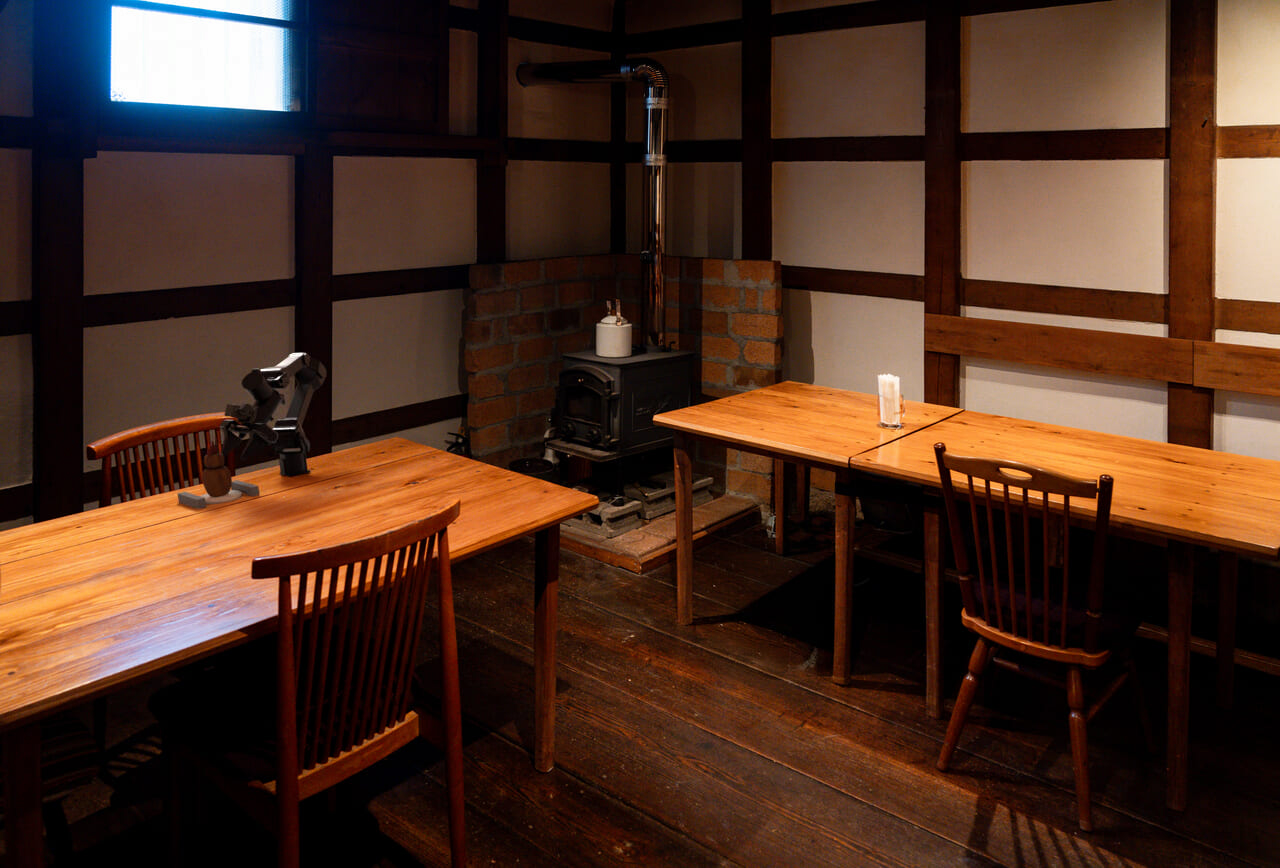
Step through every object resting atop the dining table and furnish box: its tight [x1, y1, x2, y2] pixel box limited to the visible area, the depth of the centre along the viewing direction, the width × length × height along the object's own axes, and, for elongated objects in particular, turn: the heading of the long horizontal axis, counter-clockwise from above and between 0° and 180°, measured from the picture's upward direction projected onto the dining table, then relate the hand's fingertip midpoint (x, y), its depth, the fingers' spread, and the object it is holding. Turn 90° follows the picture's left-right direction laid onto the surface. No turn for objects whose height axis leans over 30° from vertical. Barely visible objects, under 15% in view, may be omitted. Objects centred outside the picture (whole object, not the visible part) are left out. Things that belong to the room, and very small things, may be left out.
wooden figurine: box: [201, 437, 233, 497], centre depth 254 cm, size 7×6×15 cm
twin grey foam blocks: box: [176, 479, 260, 510], centre depth 255 cm, size 16×12×2 cm
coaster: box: [199, 489, 243, 505], centre depth 255 cm, size 11×11×1 cm
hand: (231, 457), depth 258 cm, fingers open, 9 cm apart
